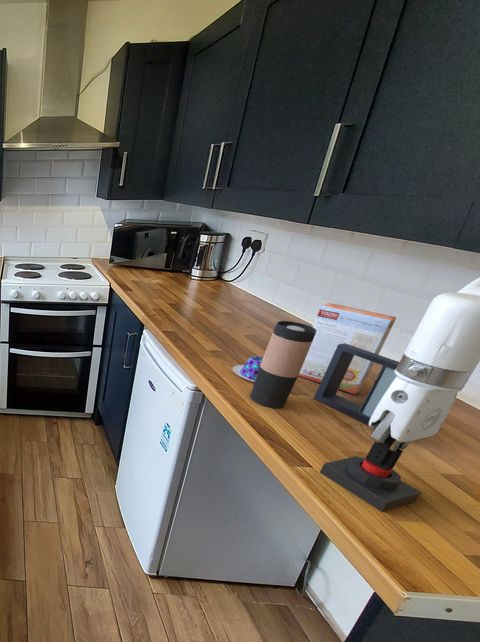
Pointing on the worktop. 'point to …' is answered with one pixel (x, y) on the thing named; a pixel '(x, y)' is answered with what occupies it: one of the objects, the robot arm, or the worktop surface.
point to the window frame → (337, 373)
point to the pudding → (249, 368)
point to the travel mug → (282, 363)
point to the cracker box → (345, 328)
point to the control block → (370, 484)
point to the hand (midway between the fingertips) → (378, 464)
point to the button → (375, 469)
